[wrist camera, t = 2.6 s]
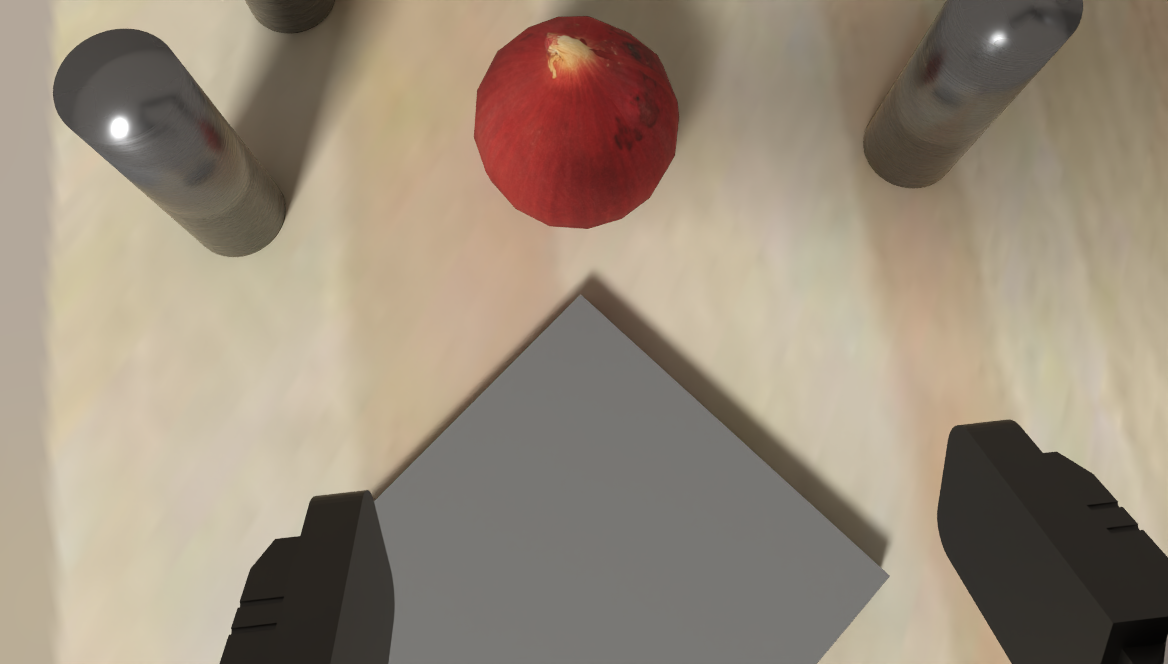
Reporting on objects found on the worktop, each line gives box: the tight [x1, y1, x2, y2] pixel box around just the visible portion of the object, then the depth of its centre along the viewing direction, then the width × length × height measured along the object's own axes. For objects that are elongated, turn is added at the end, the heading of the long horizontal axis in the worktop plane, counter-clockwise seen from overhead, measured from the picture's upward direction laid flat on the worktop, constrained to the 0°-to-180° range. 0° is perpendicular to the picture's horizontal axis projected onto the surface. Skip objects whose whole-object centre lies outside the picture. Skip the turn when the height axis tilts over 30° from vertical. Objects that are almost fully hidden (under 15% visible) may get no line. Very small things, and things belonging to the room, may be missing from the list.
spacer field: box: [53, 0, 1083, 257], centre depth 26 cm, size 20×22×8 cm
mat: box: [374, 294, 890, 664], centre depth 26 cm, size 12×12×1 cm
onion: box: [474, 16, 679, 229], centre depth 26 cm, size 6×6×8 cm
